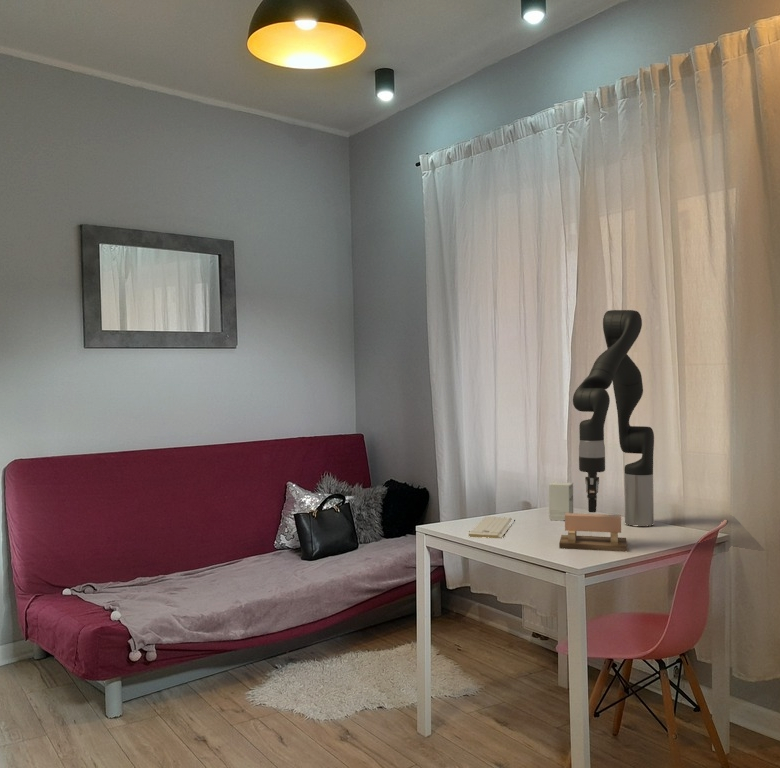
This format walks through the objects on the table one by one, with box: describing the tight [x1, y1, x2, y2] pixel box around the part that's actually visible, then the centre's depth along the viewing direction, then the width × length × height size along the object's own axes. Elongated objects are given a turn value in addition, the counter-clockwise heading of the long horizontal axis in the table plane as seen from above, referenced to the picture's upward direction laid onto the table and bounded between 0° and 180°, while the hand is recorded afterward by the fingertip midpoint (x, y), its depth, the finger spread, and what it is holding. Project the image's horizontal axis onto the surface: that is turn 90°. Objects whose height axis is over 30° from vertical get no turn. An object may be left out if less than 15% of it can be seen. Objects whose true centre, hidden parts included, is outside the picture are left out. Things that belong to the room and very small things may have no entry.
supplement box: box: [548, 481, 574, 521], centre depth 265 cm, size 7×7×13 cm
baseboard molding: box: [468, 516, 513, 539], centre depth 250 cm, size 31×3×12 cm
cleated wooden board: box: [558, 531, 628, 552], centre depth 223 cm, size 12×19×4 cm, turn 74°
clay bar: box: [564, 512, 622, 534], centre depth 223 cm, size 16×4×4 cm, turn 74°
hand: (592, 509), depth 223 cm, fingers open, 8 cm apart
